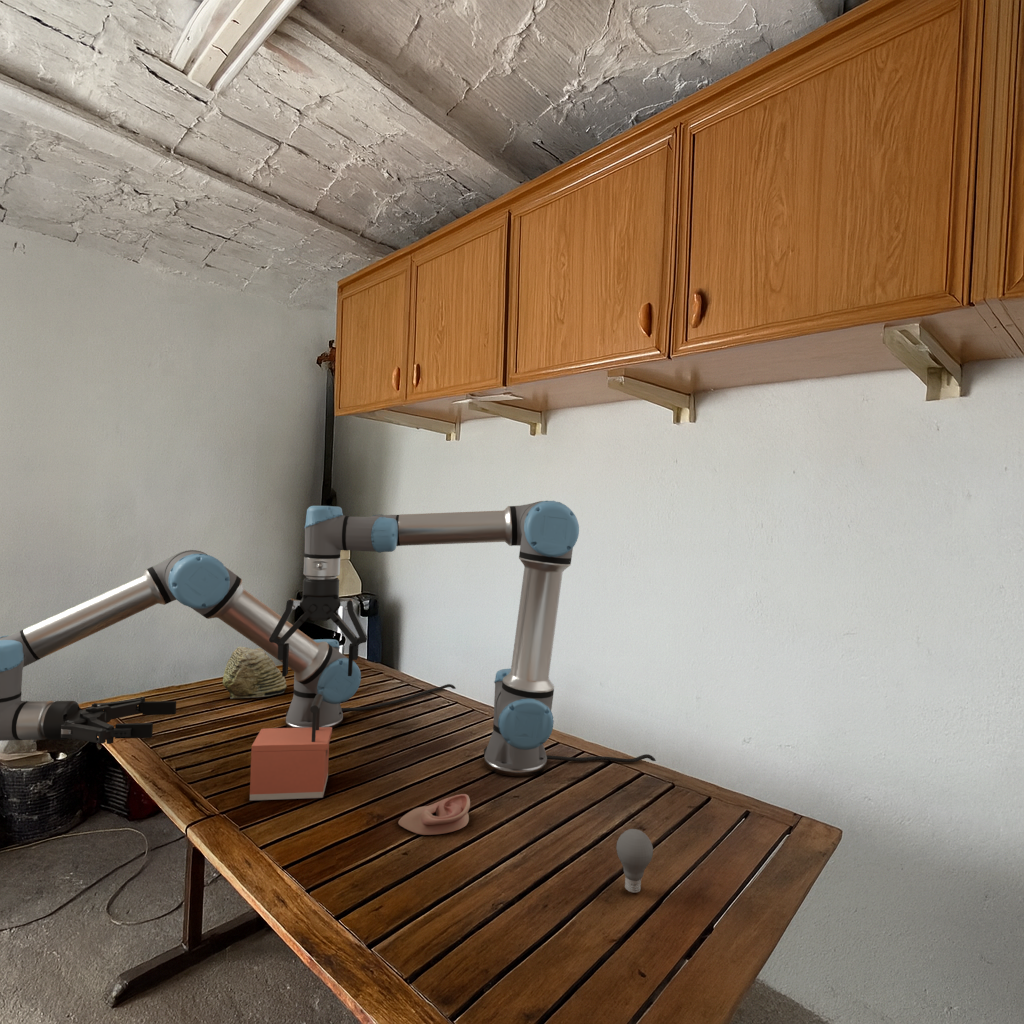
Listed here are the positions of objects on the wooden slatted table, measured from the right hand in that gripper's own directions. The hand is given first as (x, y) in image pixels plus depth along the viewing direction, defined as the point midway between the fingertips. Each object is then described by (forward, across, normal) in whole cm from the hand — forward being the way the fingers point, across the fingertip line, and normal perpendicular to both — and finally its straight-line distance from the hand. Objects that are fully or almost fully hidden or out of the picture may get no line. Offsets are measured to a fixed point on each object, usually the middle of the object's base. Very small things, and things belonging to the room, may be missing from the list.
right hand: (317, 674), depth 137 cm
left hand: (+9, -30, 0) cm, 32 cm away
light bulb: (+25, +57, -43) cm, 75 cm away
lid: (+15, -5, 0) cm, 15 cm away
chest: (+25, -5, 0) cm, 25 cm away
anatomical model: (+25, +25, -17) cm, 39 cm away
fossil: (+25, -26, +66) cm, 75 cm away
